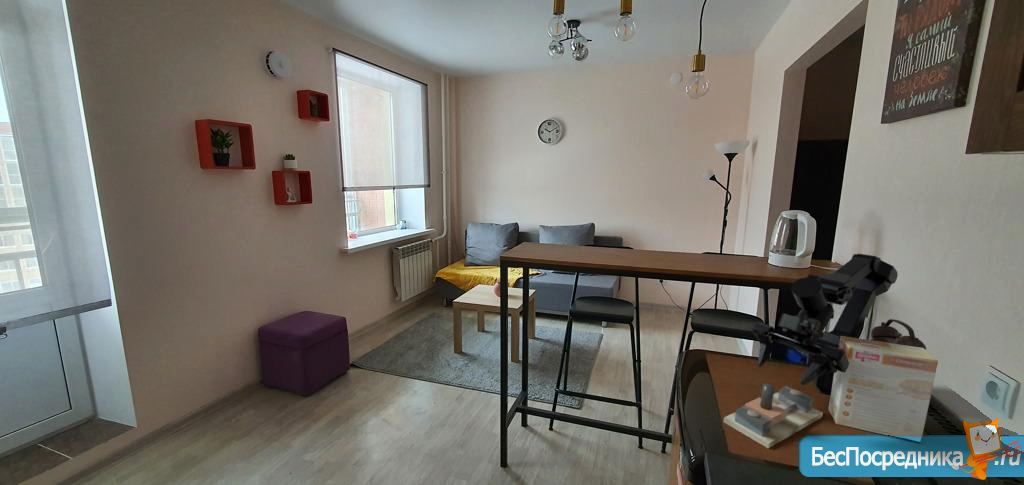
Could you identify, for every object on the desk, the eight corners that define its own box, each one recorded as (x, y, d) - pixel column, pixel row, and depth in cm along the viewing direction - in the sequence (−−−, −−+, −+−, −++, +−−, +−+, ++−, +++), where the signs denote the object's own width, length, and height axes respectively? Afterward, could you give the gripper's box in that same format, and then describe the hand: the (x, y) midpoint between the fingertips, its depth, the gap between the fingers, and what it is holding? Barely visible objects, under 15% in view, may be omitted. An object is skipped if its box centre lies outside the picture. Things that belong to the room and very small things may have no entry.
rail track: (777, 396, 103) (779, 380, 102) (822, 417, 94) (825, 399, 93) (723, 422, 92) (725, 404, 91) (768, 448, 83) (770, 429, 82)
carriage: (758, 404, 94) (762, 376, 93) (785, 418, 89) (790, 388, 88) (743, 411, 91) (747, 382, 90) (771, 426, 86) (775, 395, 85)
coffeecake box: (907, 425, 91) (923, 347, 88) (922, 444, 85) (940, 360, 81) (826, 408, 98) (839, 334, 94) (835, 424, 91) (849, 345, 88)
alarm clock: (926, 410, 97) (943, 334, 94) (892, 407, 99) (907, 331, 95) (884, 380, 111) (898, 313, 108) (855, 377, 113) (867, 311, 109)
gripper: (760, 291, 98) (728, 340, 95) (852, 315, 82) (817, 375, 79) (773, 316, 103) (743, 364, 100) (862, 343, 87) (830, 401, 84)
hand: (779, 374), depth 91 cm, fingers open, 9 cm apart
